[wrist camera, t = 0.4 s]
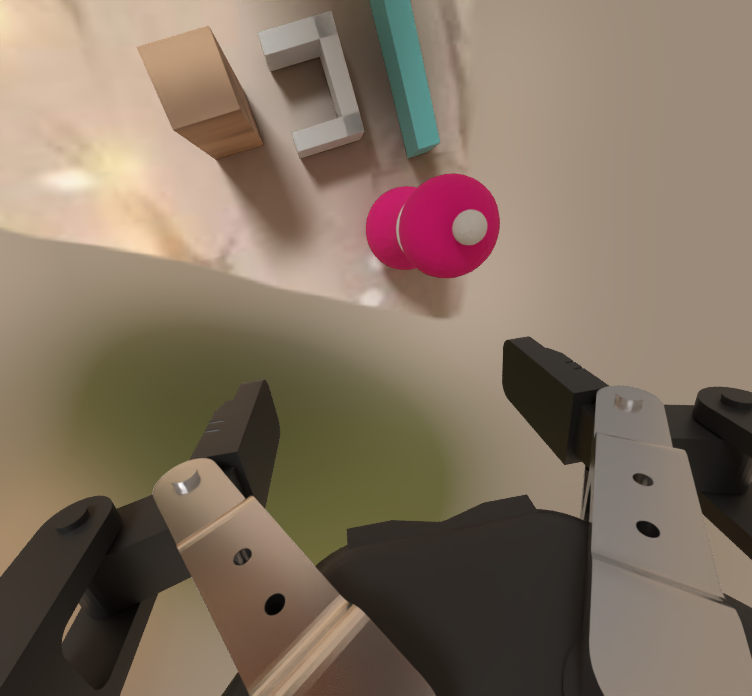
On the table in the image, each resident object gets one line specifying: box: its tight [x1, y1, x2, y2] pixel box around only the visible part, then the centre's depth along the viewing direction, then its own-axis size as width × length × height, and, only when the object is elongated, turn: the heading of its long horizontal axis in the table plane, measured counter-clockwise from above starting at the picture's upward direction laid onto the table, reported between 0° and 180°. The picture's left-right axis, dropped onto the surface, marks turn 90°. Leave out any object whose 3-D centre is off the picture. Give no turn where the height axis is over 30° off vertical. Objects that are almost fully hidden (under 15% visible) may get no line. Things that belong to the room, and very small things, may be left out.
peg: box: [137, 26, 263, 160], centre depth 27 cm, size 4×4×10 cm
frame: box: [257, 11, 364, 159], centre depth 30 cm, size 8×6×3 cm
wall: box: [369, 0, 440, 158], centre depth 30 cm, size 14×2×4 cm, turn 17°
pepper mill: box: [366, 174, 500, 278], centre depth 27 cm, size 7×7×20 cm
